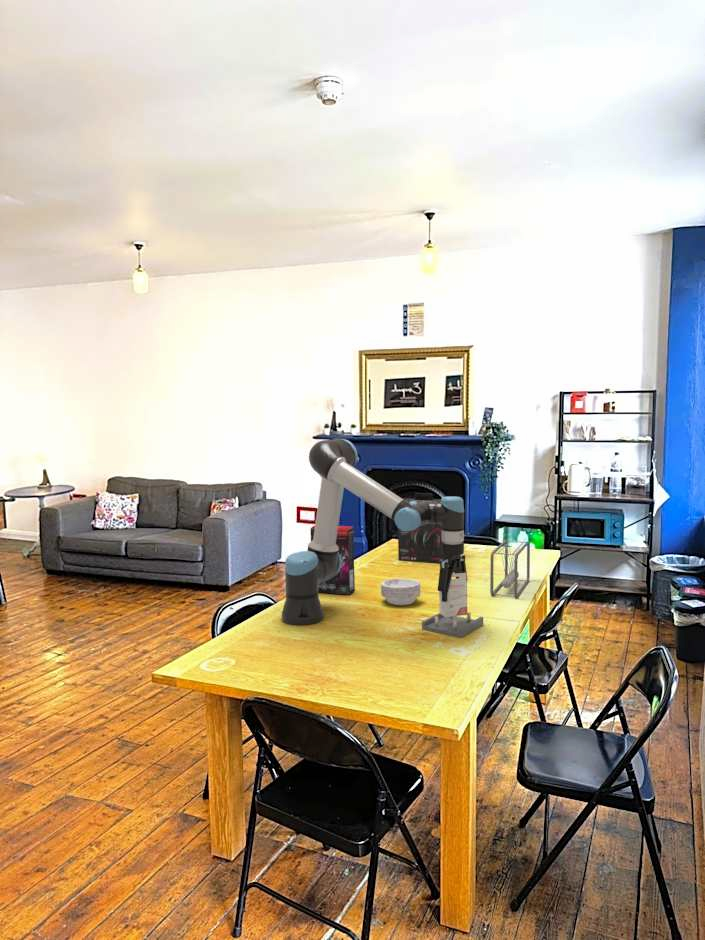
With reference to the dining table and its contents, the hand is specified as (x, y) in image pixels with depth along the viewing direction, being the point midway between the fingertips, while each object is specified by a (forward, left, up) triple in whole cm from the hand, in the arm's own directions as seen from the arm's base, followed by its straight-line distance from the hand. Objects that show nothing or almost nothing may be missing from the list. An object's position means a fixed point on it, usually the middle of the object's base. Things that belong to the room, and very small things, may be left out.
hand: (453, 606), depth 237 cm
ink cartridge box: (0, 0, -3) cm, 3 cm away
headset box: (+83, +61, -7) cm, 103 cm away
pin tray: (0, 0, -7) cm, 7 cm away
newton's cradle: (+57, +4, -7) cm, 58 cm away
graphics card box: (+12, +62, -7) cm, 64 cm away
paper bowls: (+15, +31, -7) cm, 35 cm away
